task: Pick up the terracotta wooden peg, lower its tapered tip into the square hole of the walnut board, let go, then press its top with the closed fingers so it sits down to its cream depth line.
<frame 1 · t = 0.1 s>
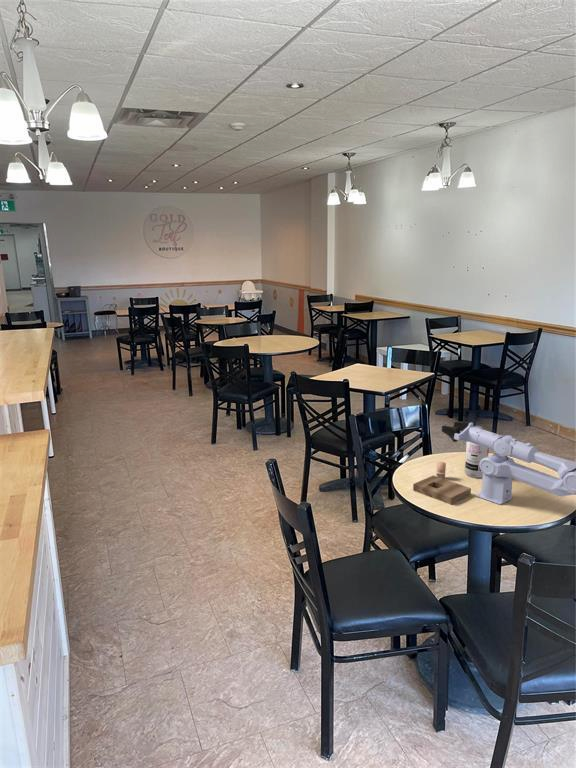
hand: (448, 426, 203), 22 cm above the table, tool horizontal, fingers open, 7 cm apart
board: (441, 492, 198), on the table
peg: (440, 478, 211), on the table
supplement can: (475, 475, 214), on the table
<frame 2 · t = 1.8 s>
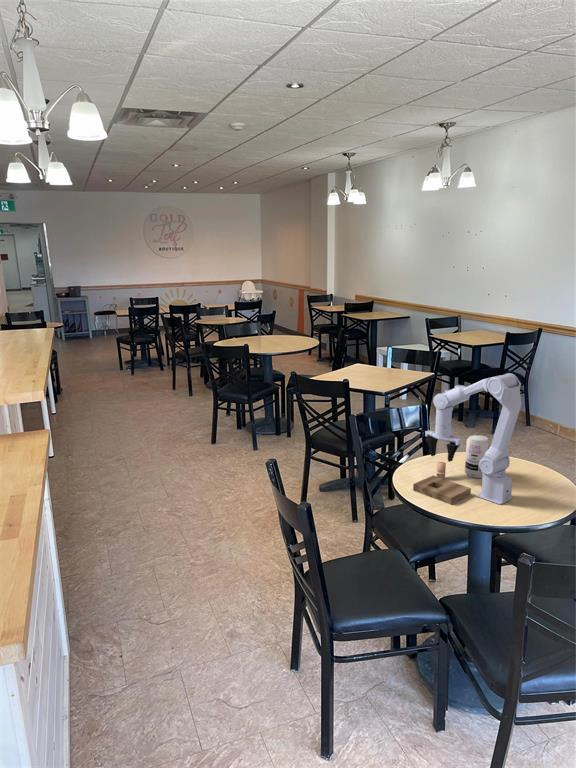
hand: (441, 458, 209), 8 cm above the table, tool pointing down, fingers open, 7 cm apart
nothing on the table moved.
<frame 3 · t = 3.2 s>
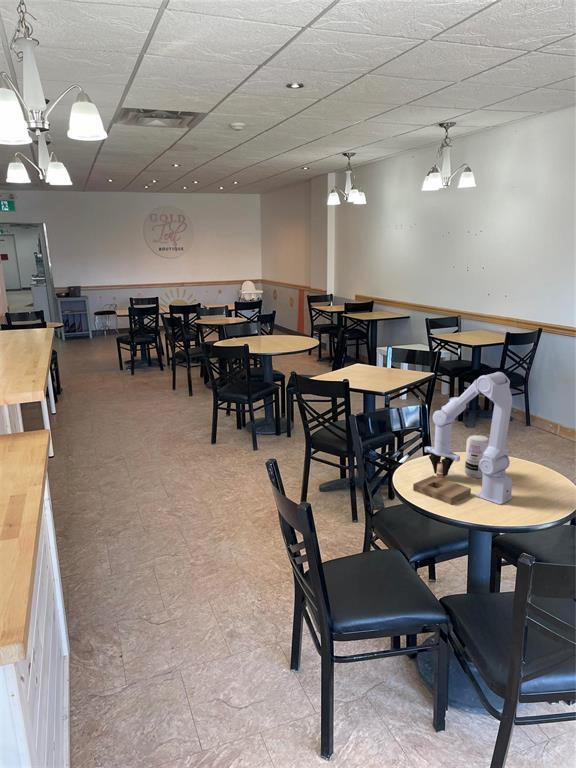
hand: (440, 474, 211), 2 cm above the table, tool pointing down, fingers closed on peg, 3 cm apart
peg: (440, 478, 211), on the table, touching gripper
everything else where it was.
when the fingers open (4 cm above the table, at t = 6.7 s): peg drops 2 cm, resting in board.
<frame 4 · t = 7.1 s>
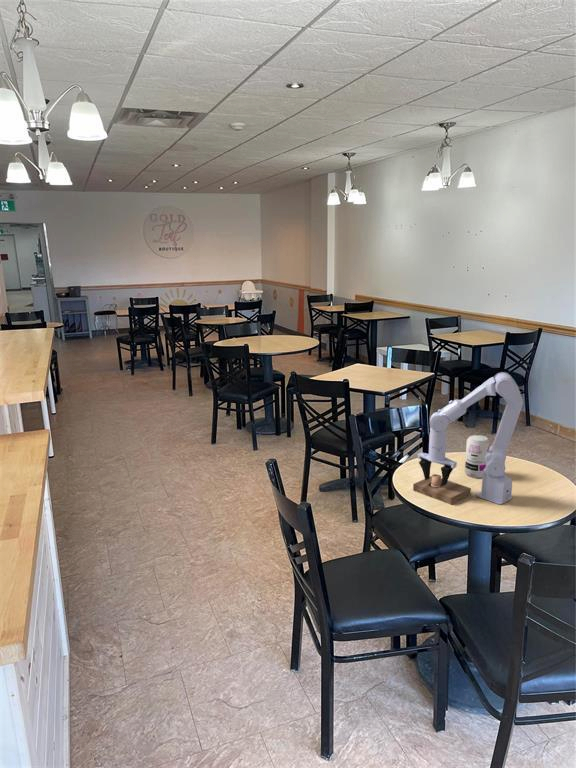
hand: (435, 481, 198), 4 cm above the table, tool pointing down, fingers open, 6 cm apart
peg: (435, 491, 199), resting in board
everything else where it was.
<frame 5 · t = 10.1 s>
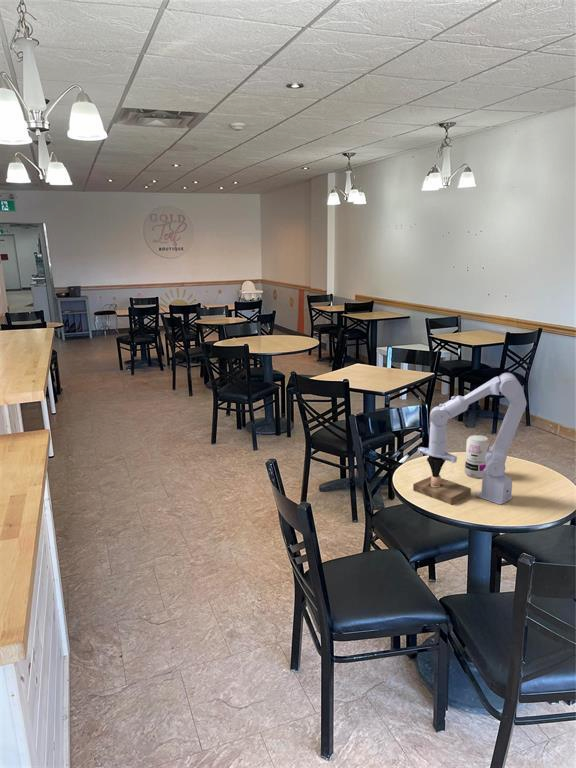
hand: (435, 476, 198), 6 cm above the table, tool pointing down, fingers closed, pressing on peg
peg: (435, 491, 199), resting in board, touching gripper
everything else where it was.
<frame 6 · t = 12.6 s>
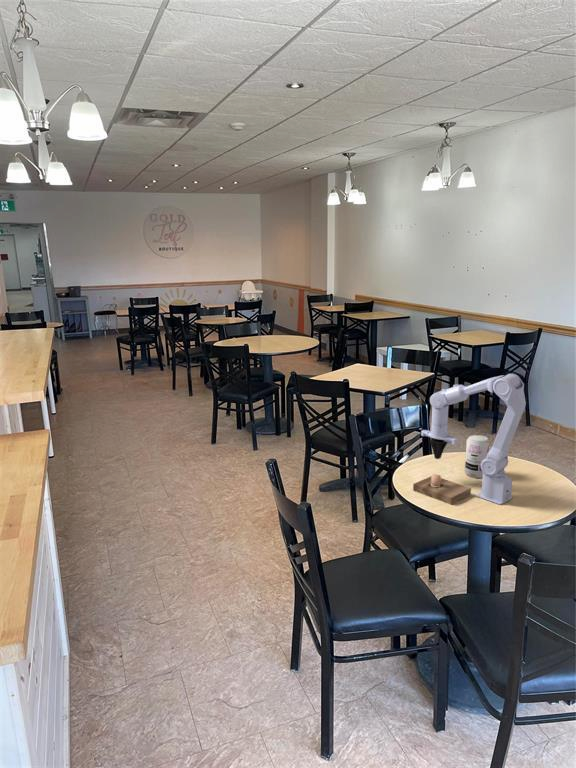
hand: (437, 458, 206), 9 cm above the table, tool pointing down, fingers closed
peg: (435, 491, 199), resting in board
everything else where it was.
at the end: peg 0.1 cm from the target spot on the board, point 0.0 cm above the board's base; peg tilted 0°; the gripper is holding nothing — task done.
